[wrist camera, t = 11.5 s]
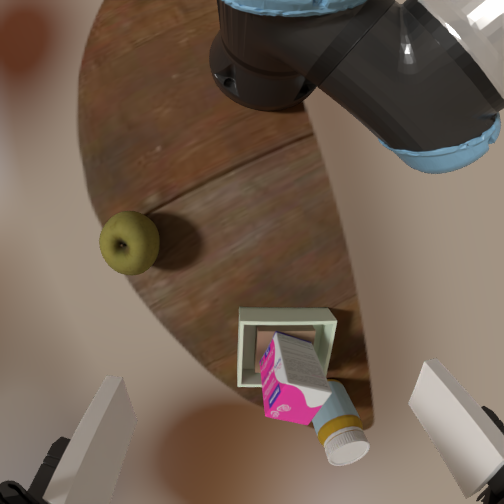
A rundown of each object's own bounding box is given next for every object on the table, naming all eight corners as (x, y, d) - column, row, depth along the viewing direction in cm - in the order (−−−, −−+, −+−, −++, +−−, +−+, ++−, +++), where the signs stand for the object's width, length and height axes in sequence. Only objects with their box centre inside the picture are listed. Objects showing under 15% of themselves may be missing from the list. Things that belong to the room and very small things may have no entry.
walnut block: (256, 321, 41) (258, 331, 38) (310, 321, 41) (315, 330, 38) (253, 361, 42) (255, 372, 39) (304, 360, 43) (308, 371, 40)
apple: (154, 200, 37) (137, 203, 30) (174, 255, 38) (162, 271, 31) (107, 219, 37) (84, 226, 30) (127, 272, 39) (108, 289, 32)
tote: (239, 306, 41) (240, 321, 36) (327, 307, 41) (337, 320, 37) (237, 369, 43) (237, 386, 39) (317, 367, 44) (324, 384, 40)
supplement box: (274, 329, 38) (288, 381, 27) (312, 341, 39) (336, 392, 28) (256, 362, 39) (264, 418, 28) (293, 372, 40) (310, 426, 29)
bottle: (343, 373, 45) (376, 433, 30) (341, 401, 46) (368, 459, 32) (304, 381, 44) (327, 446, 30) (304, 409, 46) (324, 471, 32)
